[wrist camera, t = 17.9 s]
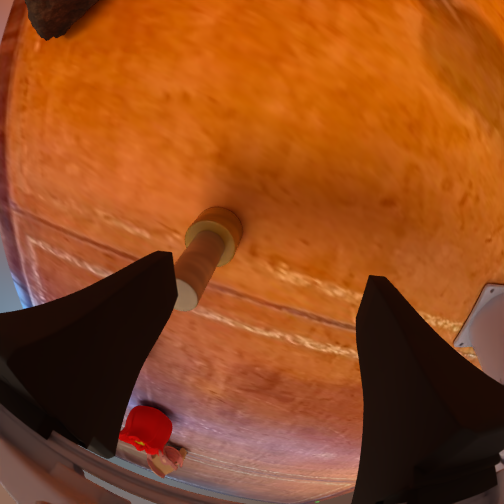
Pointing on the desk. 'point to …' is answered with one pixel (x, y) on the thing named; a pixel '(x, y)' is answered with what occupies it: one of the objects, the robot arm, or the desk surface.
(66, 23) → the decorative rock
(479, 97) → the desk surface
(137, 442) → the flower
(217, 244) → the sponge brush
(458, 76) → the desk surface
